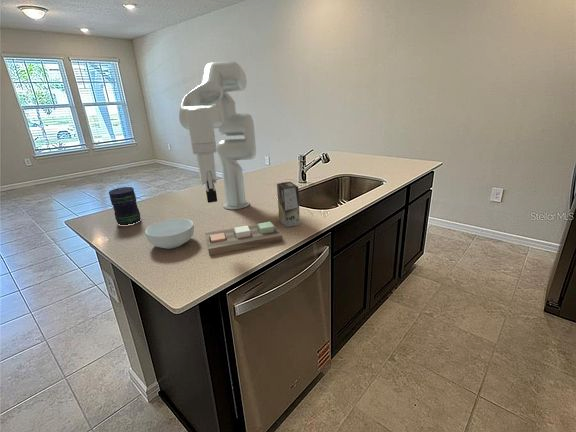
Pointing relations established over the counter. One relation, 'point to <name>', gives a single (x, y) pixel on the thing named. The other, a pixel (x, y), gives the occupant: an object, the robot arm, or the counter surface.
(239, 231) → the cream tile
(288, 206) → the coffee box
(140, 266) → the counter surface
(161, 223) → the cereal bowl
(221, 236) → the terracotta tile
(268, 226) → the sage tile
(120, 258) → the counter surface
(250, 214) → the counter surface
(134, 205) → the storage jar
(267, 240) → the tile frame
